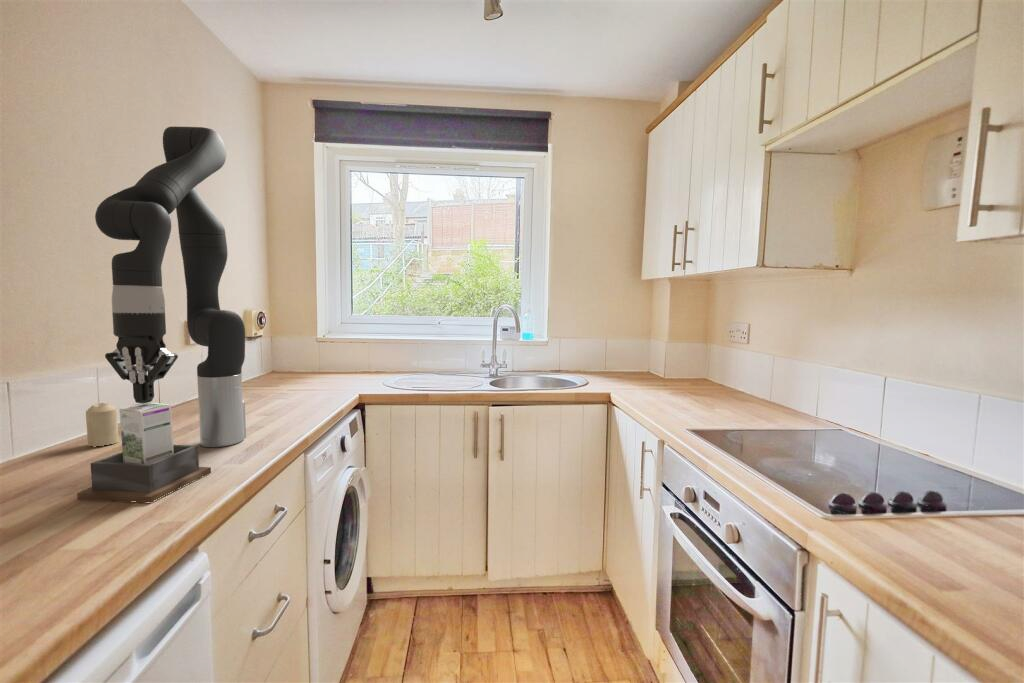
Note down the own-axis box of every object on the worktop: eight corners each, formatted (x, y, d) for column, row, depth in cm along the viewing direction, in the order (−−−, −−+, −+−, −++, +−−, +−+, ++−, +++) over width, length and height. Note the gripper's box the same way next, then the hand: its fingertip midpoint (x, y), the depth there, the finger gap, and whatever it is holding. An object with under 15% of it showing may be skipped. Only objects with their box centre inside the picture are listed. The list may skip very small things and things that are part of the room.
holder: (147, 469, 92) (146, 441, 92) (210, 472, 91) (209, 443, 91) (77, 499, 78) (75, 465, 78) (150, 503, 77) (149, 469, 77)
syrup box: (176, 475, 87) (173, 403, 86) (144, 487, 81) (139, 410, 80) (155, 471, 88) (151, 400, 87) (122, 483, 83) (117, 407, 81)
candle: (122, 443, 109) (119, 403, 108) (92, 449, 104) (89, 407, 103) (114, 439, 112) (111, 400, 111) (84, 444, 107) (82, 404, 106)
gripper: (189, 311, 85) (192, 399, 87) (125, 309, 86) (130, 396, 88) (154, 311, 78) (159, 408, 79) (85, 310, 79) (91, 405, 80)
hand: (144, 402), depth 83 cm, fingers closed
